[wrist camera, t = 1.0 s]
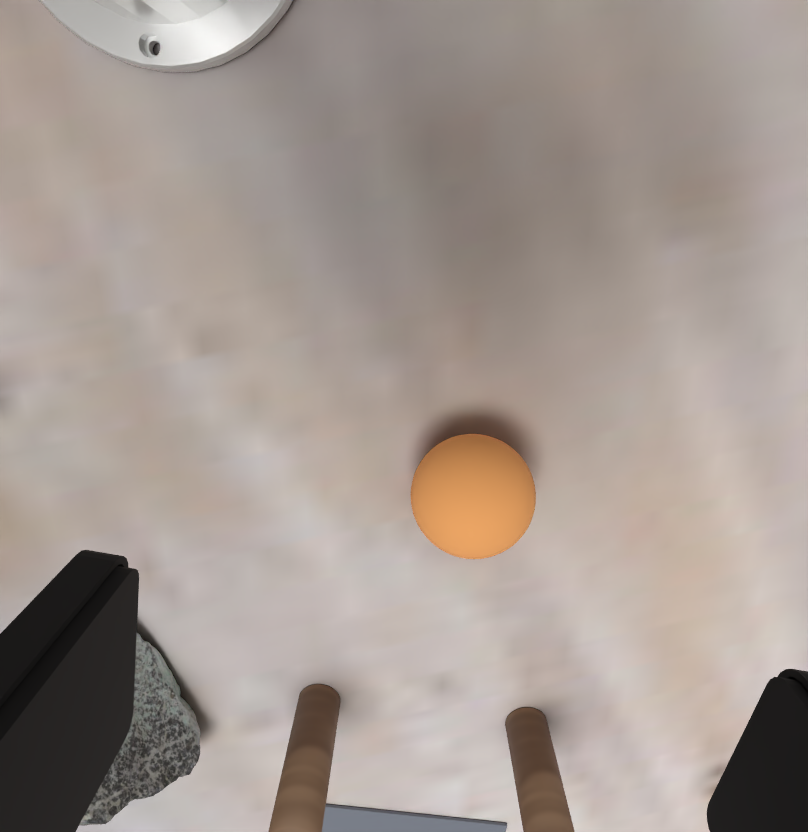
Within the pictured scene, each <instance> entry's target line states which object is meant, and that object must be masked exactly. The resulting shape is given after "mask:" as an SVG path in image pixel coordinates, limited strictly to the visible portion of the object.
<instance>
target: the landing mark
mask: <svg viewBox="0 0 808 832" xmlns="http://www.w3.org/2000/svg"><path fill="white" fill-rule="evenodd" d="M506 828H507V823H502V822H492V821H483V820H473V819H464V818H454V817H444V816H435V815H425V814H416V813H406V812H397V811H387V810H378V809H368V808H359V807H349V806H340V805H330V804H326V806H325V813H324V820H323V827H322V832H506Z"/></svg>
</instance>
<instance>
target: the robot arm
mask: <svg viewBox="0 0 808 832" xmlns="http://www.w3.org/2000/svg"><path fill="white" fill-rule="evenodd" d="M39 1H40V3H41V4H42V5H43V6H44V7H45V8H46V9H47V10H48V11H49V12H50V13H51V14H52V15H53V16H54V18H55V19H56V20H57V21H58V22H59V23H60V24H62V25H63V26H64V27H66V28H67V29H68V30H70V31H71V32H72V33H73V34H75V35H76V36H77V37H79V38H80V39H81V40H83V41H84V42H85V43H87V44H89V45H90V46H92V47H94V48H96V49H98V50H100V51H102V52H104V53H106V54H108V55H110V56H111V57H113V58H116V59H118V60H121V61H123V62H126V63H129V64H131V65H134V66H136V67H141V68H146V69H151V70H156V71H161V72H195V71H199V70H203V69H207V68H211V67H215V66H219V65H222V64H224V63H226V62H228V61H230V60H232V59H234V58H236V57H238V56H240V55H242V54H244V53H246V52H247V51H248V50H249V49H251V48H252V47H253V46H254V45H256V44H257V43H258V42H259V41H261V40H262V39H263V38H264V37H265V36H267V35H268V34H269V33H270V31H271V30H272V29H273V28H274V26H275V25H276V24H277V23H278V22H279V20H280V19H281V18H282V17H283V15H284V14H285V13H286V12H287V10H288V9H289V7H290V5H291V3H292V1H293V0H39ZM157 43H159V44H160V46H161V48H160V52H159V54H158V55H157V56H155V55H154V53H153V46H154V45H155V44H157ZM138 589H139V573H138V570H136V569H132V568H128V561H127V559H126V558H125V557H124V556H119V555H113V554H107V553H101V552H95V551H89V550H83V551H81V552H79V553H78V554H77V555H76V556H75V557H74V558H73V559H72V560H71V561H70V562H69V563H68V564H67V565H66V566H65V567H64V568H63V569H62V570H61V571H60V572H59V573H58V574H57V576H56V577H55V578H54V579H53V580H52V581H51V582H50V583H49V584H48V585H47V586H46V587H45V588H44V589H43V590H42V591H41V592H40V593H39V594H38V595H37V596H36V597H35V598H34V599H33V600H32V602H31V603H30V604H29V605H28V606H27V607H26V608H25V609H24V610H23V611H22V612H21V613H20V614H19V615H18V616H17V617H16V618H15V619H14V620H13V621H12V622H11V623H10V624H9V625H8V627H7V628H6V629H5V630H4V631H3V632H2V633H1V634H0V832H76V830H77V828H78V826H79V824H80V822H81V820H82V819H83V817H84V815H85V813H86V811H87V809H88V808H89V806H90V804H91V802H92V800H93V798H94V797H95V795H96V793H97V791H98V789H99V787H100V785H101V784H102V782H103V780H104V778H105V776H106V774H107V773H108V771H109V769H110V767H111V765H112V763H113V761H114V760H115V758H116V756H117V754H118V752H119V750H120V749H121V747H122V745H123V743H124V741H125V739H126V737H127V734H128V732H129V729H130V726H131V722H132V717H133V708H134V684H135V660H136V637H137V613H138ZM707 822H708V827H709V830H710V832H808V672H807V671H801V670H795V669H786V670H784V671H782V672H781V673H780V674H779V675H778V677H774V678H772V679H770V681H769V682H768V683H767V685H766V687H765V689H764V691H763V693H762V695H761V697H760V700H759V702H758V704H757V706H756V708H755V710H754V712H753V714H752V716H751V718H750V720H749V722H748V724H747V726H746V728H745V730H744V732H743V734H742V736H741V738H740V740H739V742H738V744H737V746H736V748H735V751H734V753H733V755H732V757H731V759H730V761H729V763H728V765H727V767H726V769H725V771H724V773H723V775H722V777H721V779H720V781H719V783H718V785H717V787H716V789H715V791H714V793H713V795H712V797H711V799H710V801H709V804H708V808H707Z"/></svg>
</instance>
